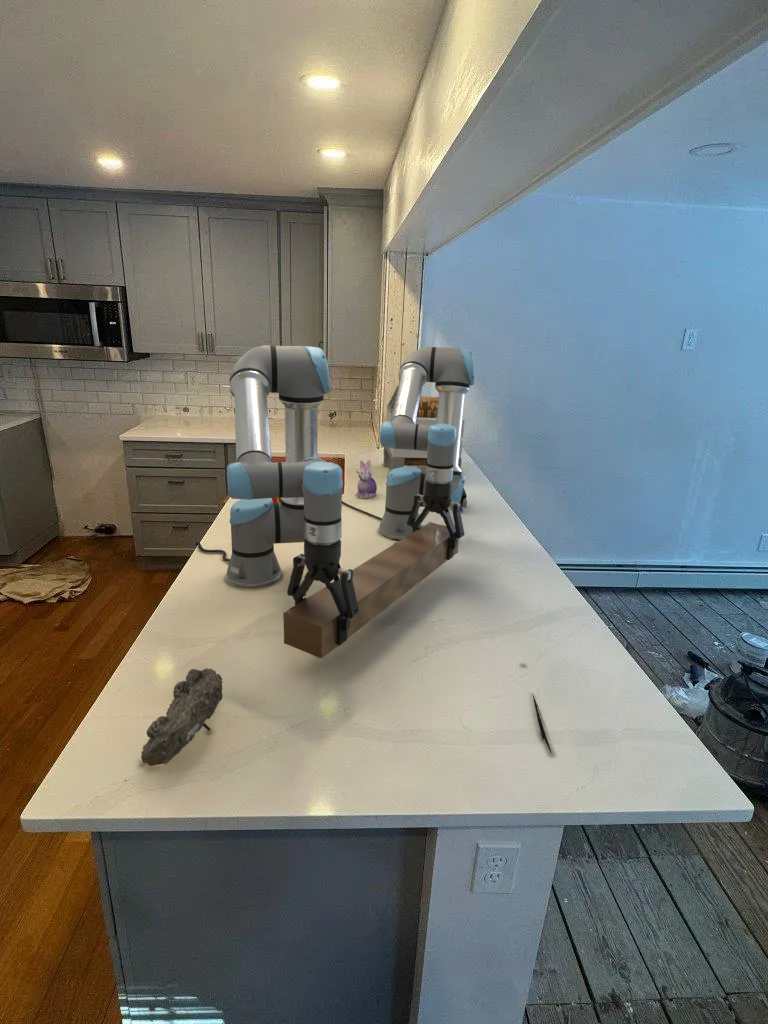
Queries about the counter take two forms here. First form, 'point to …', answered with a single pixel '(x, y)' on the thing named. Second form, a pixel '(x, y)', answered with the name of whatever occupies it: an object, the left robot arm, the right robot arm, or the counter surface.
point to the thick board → (368, 590)
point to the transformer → (424, 417)
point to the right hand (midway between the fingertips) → (433, 553)
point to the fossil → (183, 716)
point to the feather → (541, 724)
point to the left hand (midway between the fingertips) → (321, 634)
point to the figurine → (366, 481)
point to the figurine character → (463, 500)
